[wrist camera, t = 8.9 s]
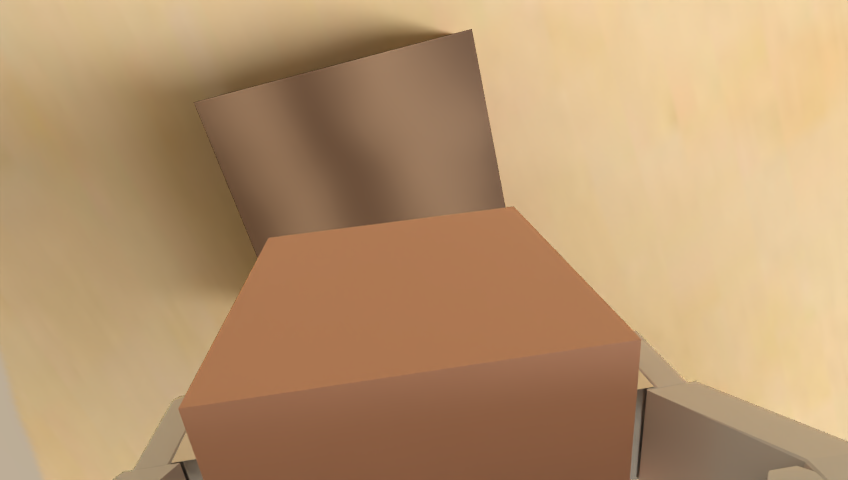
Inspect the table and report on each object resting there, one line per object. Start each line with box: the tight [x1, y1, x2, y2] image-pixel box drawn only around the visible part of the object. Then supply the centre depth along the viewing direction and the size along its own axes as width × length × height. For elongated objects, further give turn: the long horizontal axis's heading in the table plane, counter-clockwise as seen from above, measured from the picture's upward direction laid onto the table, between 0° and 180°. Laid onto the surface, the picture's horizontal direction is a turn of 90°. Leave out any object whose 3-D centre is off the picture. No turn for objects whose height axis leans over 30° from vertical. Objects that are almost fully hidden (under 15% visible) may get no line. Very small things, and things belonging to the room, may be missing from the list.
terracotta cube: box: [178, 207, 641, 480], centre depth 8 cm, size 5×5×5 cm
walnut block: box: [194, 29, 505, 257], centre depth 25 cm, size 12×12×5 cm
